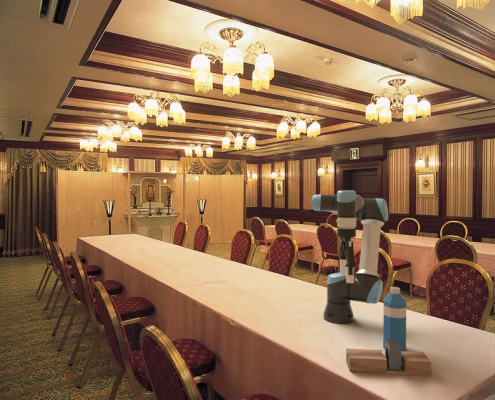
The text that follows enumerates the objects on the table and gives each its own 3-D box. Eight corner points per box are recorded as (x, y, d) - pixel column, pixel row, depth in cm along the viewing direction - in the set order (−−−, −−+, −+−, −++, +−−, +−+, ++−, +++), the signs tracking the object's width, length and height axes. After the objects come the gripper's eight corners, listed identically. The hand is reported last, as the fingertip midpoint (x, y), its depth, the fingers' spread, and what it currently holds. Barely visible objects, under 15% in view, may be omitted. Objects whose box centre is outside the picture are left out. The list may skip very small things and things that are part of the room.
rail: (346, 361, 138) (346, 348, 138) (422, 365, 135) (423, 352, 135) (349, 371, 130) (349, 357, 130) (431, 376, 127) (431, 362, 127)
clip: (384, 362, 136) (385, 338, 135) (395, 363, 135) (396, 339, 135) (389, 371, 129) (389, 346, 129) (401, 371, 129) (401, 346, 129)
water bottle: (400, 343, 155) (400, 285, 155) (410, 352, 146) (411, 291, 146) (378, 343, 155) (379, 285, 155) (388, 353, 146) (388, 291, 145)
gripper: (332, 224, 162) (332, 271, 163) (343, 231, 138) (343, 286, 138) (349, 224, 162) (349, 271, 163) (363, 231, 137) (363, 286, 138)
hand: (346, 278), depth 150 cm, fingers open, 13 cm apart
